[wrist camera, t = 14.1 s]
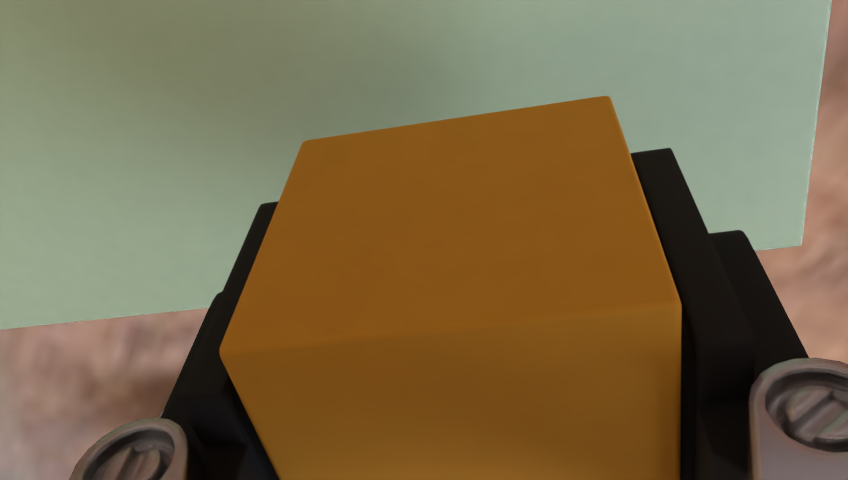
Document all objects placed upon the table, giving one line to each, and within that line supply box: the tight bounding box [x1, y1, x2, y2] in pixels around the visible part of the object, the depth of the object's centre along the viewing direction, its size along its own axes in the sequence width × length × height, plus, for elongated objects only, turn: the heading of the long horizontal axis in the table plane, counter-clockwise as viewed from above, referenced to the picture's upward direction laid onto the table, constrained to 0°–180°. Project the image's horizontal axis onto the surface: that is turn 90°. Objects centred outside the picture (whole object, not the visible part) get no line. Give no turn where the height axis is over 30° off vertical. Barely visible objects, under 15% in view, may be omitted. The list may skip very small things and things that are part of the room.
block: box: [219, 96, 682, 480], centre depth 10 cm, size 4×4×4 cm
